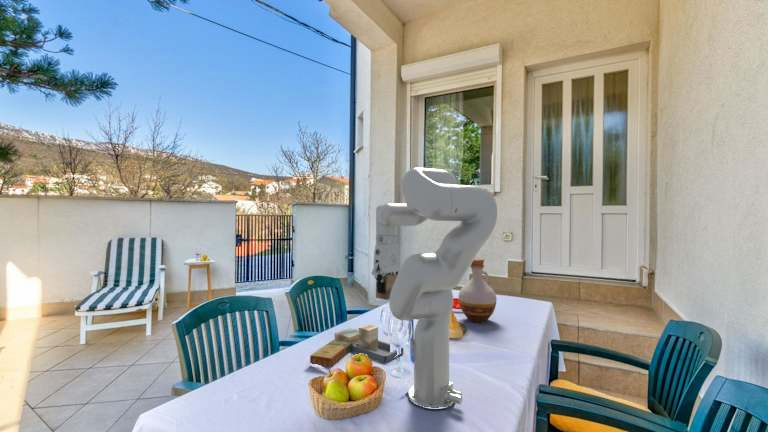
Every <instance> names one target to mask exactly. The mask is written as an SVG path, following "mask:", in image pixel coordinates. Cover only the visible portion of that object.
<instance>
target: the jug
mask: <svg viewBox="0 0 768 432" xmlns="http://www.w3.org/2000/svg"><path fill="white" fill-rule="evenodd" d="M484 263H485V258H482V257H481V258H480V257H475V258H474V260H473V262H472V263H471V265H470V268H471V271H472V272H471V273H472V277H471V279H470V280H469V281H468V282H467V283H466V284H465V285H464V286H462V287H461V288H460V290H459V292H458V303H459V307H460V308H461V311H462V313H463V314H464V316H465V317H466V318H467V320H468V321H469V322H471V321H472V322H471V323H475V322H477V323H478V324H483V322H484V323H486V322H487V321H488V320H489V319H490V317H491V316H492V315H494V312H495V309H496V305H497V294H496V292H495V291H494V289H493V288H492V287H491V278H490V275H489V273H488V272H487V271H485V270H484V268H485V265H484ZM483 275H484V276H485V277H486V281H485V280H484V278H483ZM477 323H476V324H477Z"/></svg>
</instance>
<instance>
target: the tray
mask: <svg viewBox="0 0 768 432" xmlns="http://www.w3.org/2000/svg"><path fill="white" fill-rule="evenodd" d="M390 344H391V343H388V342H386V341H381V340H379V339H378V349H377V350H374V351H371V350H368V349H365V348H362V347H359V342H358V343H355V344H353V345H351V351H350V352H353V353H356V354H359V353H364V354H367V355H368V356H369V357H368V358H371V359H374V360H377V361H379V362H381V363H385V364H386V363H388V362H390V361H393V360H394V359H395V358H394V357H395V356H396V355H397V350H395V351H393V352H391V353H390ZM403 354H404V347H402V348H401V355H400V356H402V355H403Z"/></svg>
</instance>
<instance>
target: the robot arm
mask: <svg viewBox="0 0 768 432" xmlns="http://www.w3.org/2000/svg"><path fill="white" fill-rule="evenodd" d="M400 187H401V192H402V196H404V200H405V201H404V202H405V203H392V202H391V203H385V204H381V205H378V206H376V208H375V245H374V252H373V268H372V271H371V275H372V276H373V277H374V279H375V282H376V281H377V292H378V293H382V294H385V282H384V279H385V274H387V273H388V274H394V275H396V280H395V283H394V285H393V287H392V290H391V293H390V298H389V300H388V302H389V303H388V305H389V310H390V312H391V314H392V316H393V317H394V318H395V319H396V320H400V321H411V320H417V322H416V324H415V328H414V332H413V385H412V386H411V387H410V388H409V389H408V392H407V393H408V394H407V395H409V397H410V399H411V400H412V401H413V402H415V403H417V404H418V405H421V406H424V407H431V408H439V407H447V406H450V405H452V404H453V403H454V404H456V405H457V404H458V405H462V403H463V396H462V395H463V392H462V391H460V390H455V388H454V382H452V381H450V329H451V316H452V312H453V311H452V310H453V306H454V294H453V291H452V289H455V288H457V287H458V286H459V284H460V283H461V282H462V280H463V278H465V277H464V276H465V275H466V274H467V272H468V270H469V268H471V266H470V265H471V263H472V262H473V260H474V258H476V256H477V254H478V253H479V252H480V251H481V249H482V248H483V246H484V245H485V243H486V242H487V241H488V239H489V238H490V237H491V235H492V233H493V231H494V229H495V227H496V223H497V220H498V204H497V202H496V201H497V200H496V199H495V198H496V197H494V195H493V194H492V193H491V192H490V191H489V190H487V189H486V188H483V187H480V186H477V185H476V186H475V185H469V184H467V185H465V184H458V183H457V179H456V177H455V176H454V175H453V173H451V172H450V171H447V170H445V169H440V168H439V169H437V168H426V167H413V168H411V169H409V170H408V171H407V172H406V173H404V175H403V177H402V180H401V186H400ZM427 220H430V221H431V220H432V221H434V222H460V223H458V224H457V225H456V226H455V227H453V228H452V229H451V230H450V231H449V232H448V233H447V234H446V235H445V236H444V238H443V240H442V242H441V244H440V245H439V247H438V249H437V250H435V251H434V252H428V253H426V252H423V253H414V254H411V255H409V256H408V257H406V259H405V260H404V261H403V263H402V264H401V254H400V245H399V244H398V227H407V226H408V227H414V226H415V227H416V226H418V225H420V224H422V223H424V222H426V221H427ZM380 274H382V277H381V276H380ZM409 397H408V398H409ZM410 399H409V400H410ZM454 404H453V405H454ZM453 405H452V406H453ZM450 407H451V406H450Z"/></svg>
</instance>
